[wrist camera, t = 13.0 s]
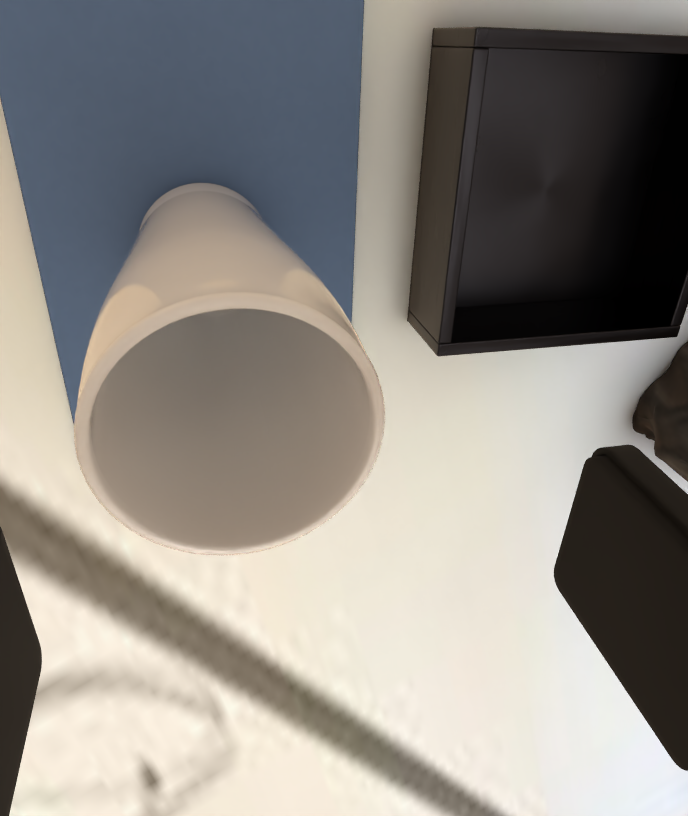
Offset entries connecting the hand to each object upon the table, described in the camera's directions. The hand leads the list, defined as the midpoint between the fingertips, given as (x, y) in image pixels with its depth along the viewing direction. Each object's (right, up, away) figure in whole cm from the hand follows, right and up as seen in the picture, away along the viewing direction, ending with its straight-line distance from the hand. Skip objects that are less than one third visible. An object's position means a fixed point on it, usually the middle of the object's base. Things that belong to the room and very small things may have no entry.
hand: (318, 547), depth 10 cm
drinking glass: (-5, +9, +16) cm, 19 cm away
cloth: (-6, +9, +16) cm, 19 cm away
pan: (+10, +12, +18) cm, 24 cm away
